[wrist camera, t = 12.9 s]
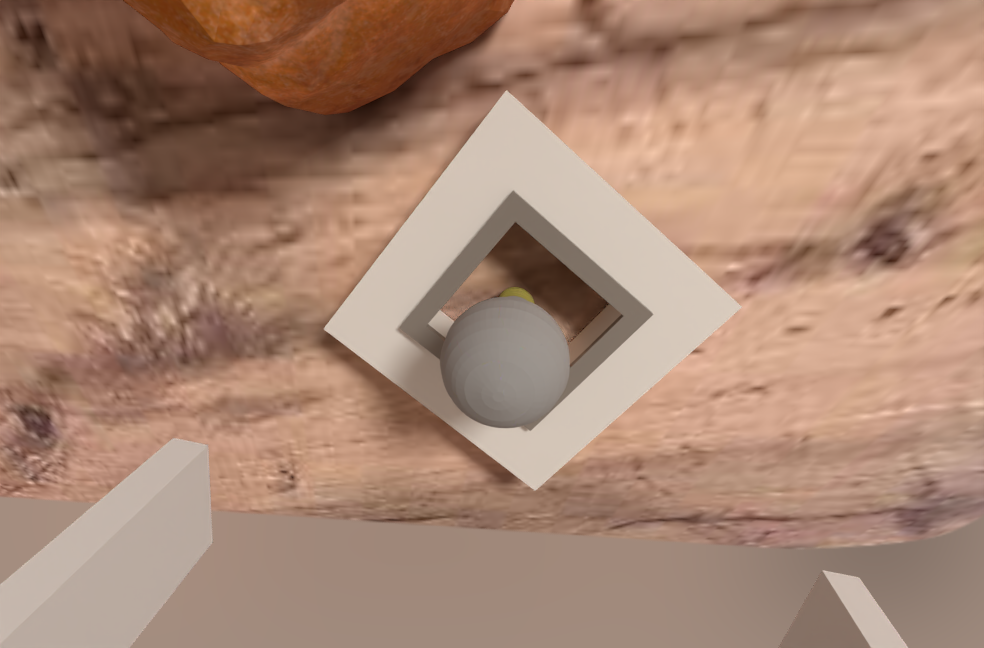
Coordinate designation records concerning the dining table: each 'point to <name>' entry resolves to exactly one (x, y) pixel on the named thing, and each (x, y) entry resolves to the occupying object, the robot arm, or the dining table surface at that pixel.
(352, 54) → the bread
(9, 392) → the dining table surface
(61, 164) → the dining table surface
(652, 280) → the socket block
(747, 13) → the dining table surface
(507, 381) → the light bulb
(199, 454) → the robot arm
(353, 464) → the dining table surface
